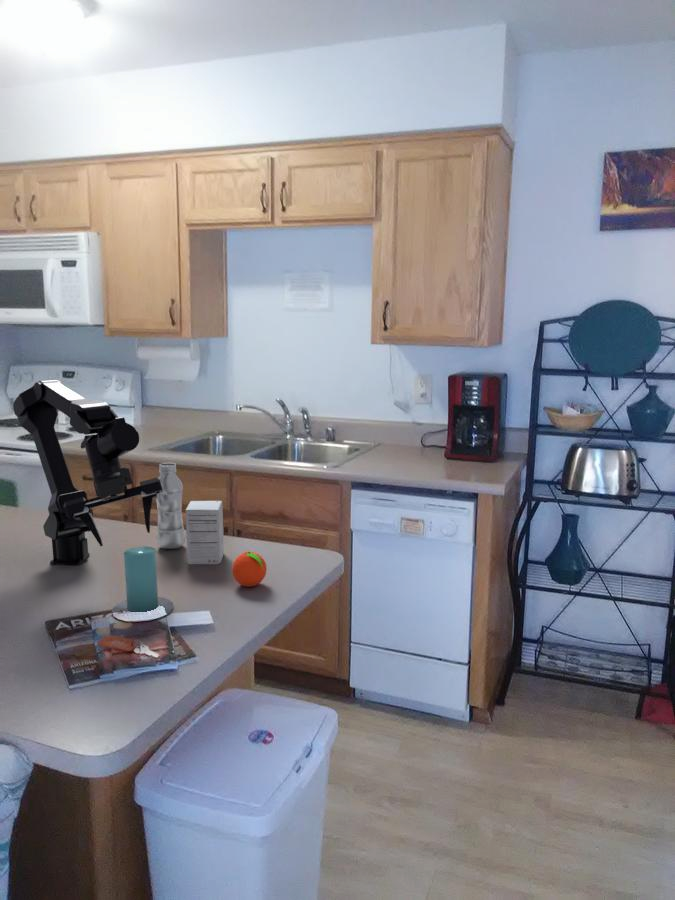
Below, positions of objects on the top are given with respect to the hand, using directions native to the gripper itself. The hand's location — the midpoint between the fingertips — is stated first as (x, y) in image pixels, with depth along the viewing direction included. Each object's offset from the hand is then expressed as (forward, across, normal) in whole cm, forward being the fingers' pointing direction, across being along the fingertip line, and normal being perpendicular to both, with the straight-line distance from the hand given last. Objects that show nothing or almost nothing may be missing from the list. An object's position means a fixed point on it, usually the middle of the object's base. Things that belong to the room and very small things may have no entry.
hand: (125, 539), depth 141 cm
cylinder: (+13, 0, -8) cm, 15 cm away
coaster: (+14, 0, -8) cm, 16 cm away
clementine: (+16, +21, -1) cm, 27 cm away
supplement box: (+9, +15, +16) cm, 24 cm away
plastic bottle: (+4, +8, +25) cm, 27 cm away
